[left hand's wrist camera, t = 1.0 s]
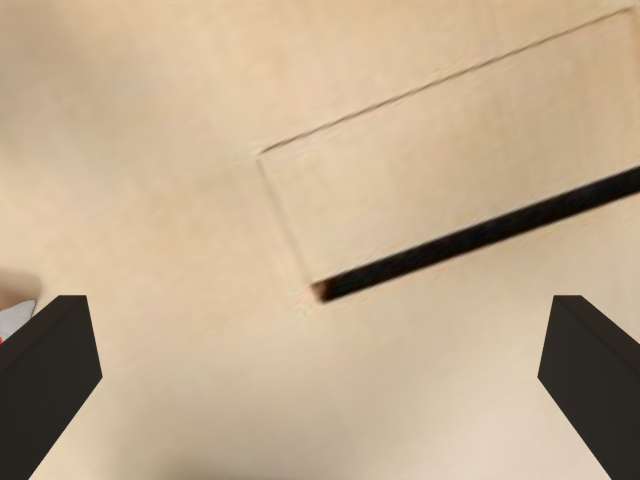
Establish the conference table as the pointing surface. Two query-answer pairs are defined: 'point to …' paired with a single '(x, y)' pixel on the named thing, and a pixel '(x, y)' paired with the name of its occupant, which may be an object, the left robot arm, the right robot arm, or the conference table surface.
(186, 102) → the conference table surface
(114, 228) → the conference table surface
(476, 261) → the conference table surface
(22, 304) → the fish
